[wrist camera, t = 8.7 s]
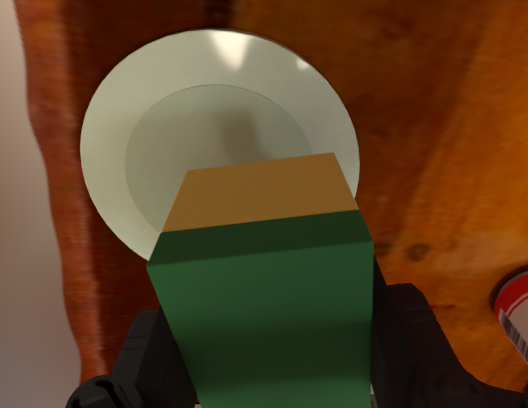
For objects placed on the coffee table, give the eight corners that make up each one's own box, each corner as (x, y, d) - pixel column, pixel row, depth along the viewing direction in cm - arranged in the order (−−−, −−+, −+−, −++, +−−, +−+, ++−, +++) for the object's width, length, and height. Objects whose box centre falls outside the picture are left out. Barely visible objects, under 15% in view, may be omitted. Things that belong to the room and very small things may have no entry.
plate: (354, 3, 17) (360, 4, 16) (356, 259, 26) (360, 271, 24) (40, 52, 19) (26, 56, 17) (138, 282, 27) (133, 294, 26)
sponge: (186, 169, 13) (144, 266, 9) (334, 150, 13) (374, 242, 8) (227, 318, 17) (213, 440, 13) (340, 306, 17) (370, 428, 12)
